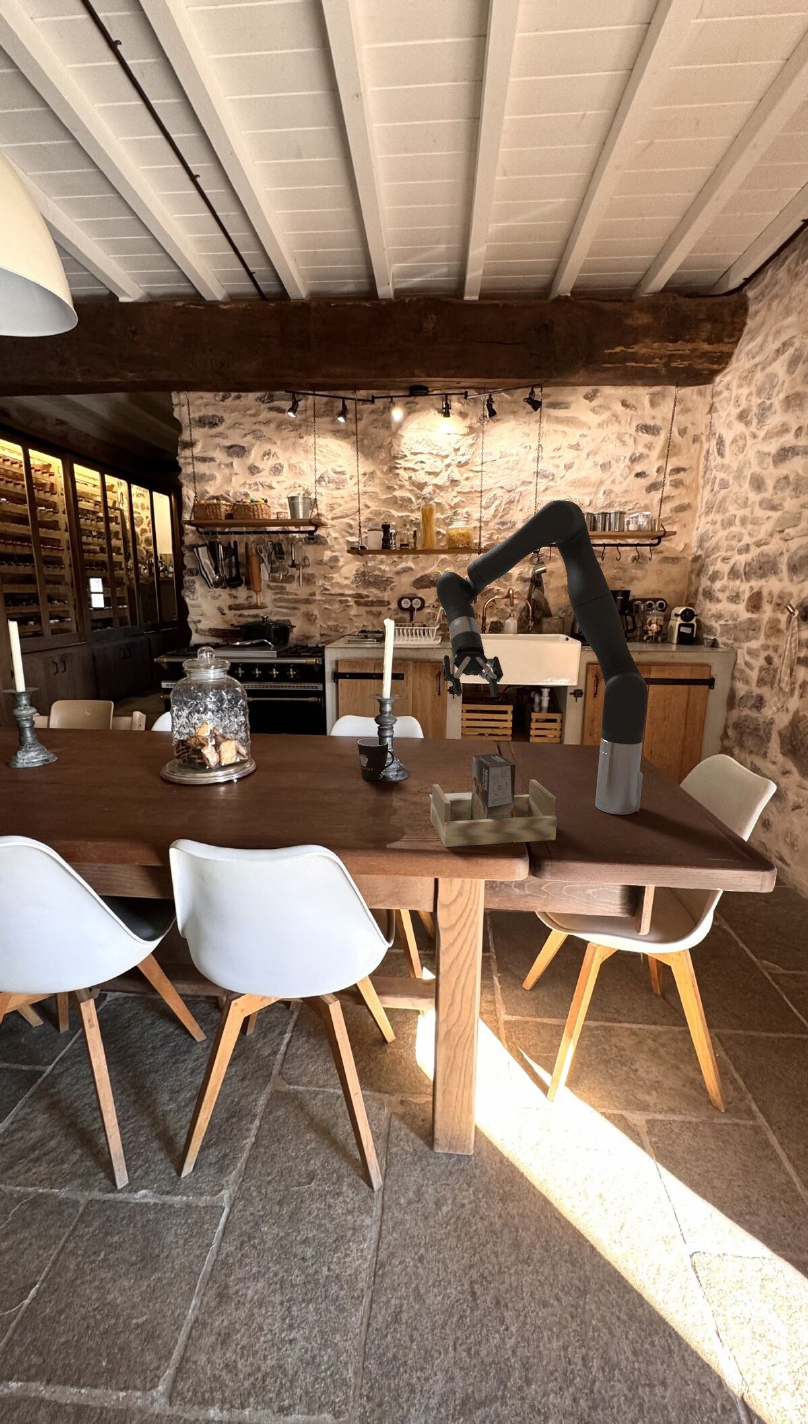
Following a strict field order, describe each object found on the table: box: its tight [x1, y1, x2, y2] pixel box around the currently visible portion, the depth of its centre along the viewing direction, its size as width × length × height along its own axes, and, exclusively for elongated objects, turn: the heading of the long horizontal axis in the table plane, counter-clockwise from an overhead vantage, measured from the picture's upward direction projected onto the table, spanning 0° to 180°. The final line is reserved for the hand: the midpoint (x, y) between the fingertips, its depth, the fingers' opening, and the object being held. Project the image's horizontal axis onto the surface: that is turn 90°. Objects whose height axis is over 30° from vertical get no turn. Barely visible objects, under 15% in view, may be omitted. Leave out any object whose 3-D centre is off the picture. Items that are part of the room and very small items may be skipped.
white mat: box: [429, 791, 472, 800], centre depth 144 cm, size 18×12×1 cm, turn 100°
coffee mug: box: [357, 737, 395, 781], centre depth 160 cm, size 12×9×10 cm
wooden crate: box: [430, 779, 558, 848], centre depth 127 cm, size 24×14×9 cm, turn 100°
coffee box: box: [471, 753, 517, 820], centre depth 127 cm, size 9×6×16 cm
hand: (477, 694), depth 137 cm, fingers open, 8 cm apart
